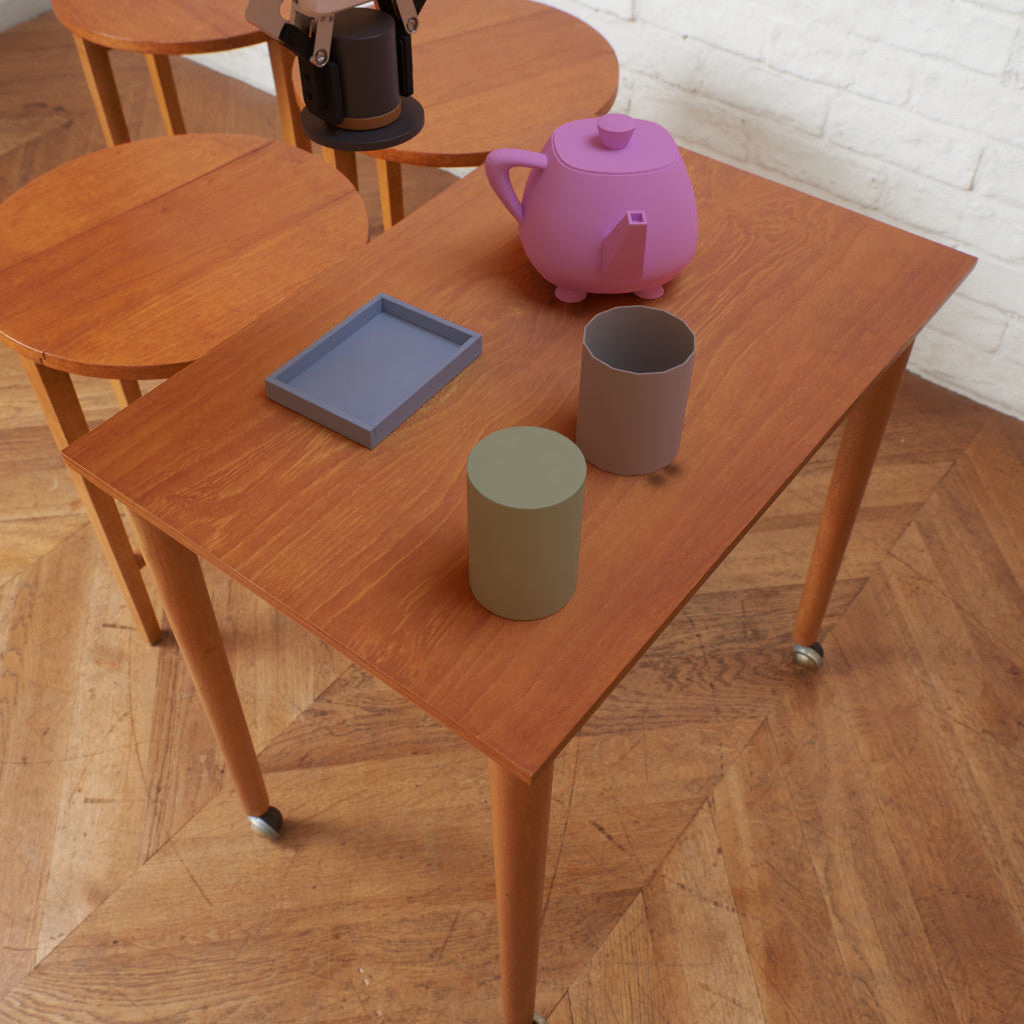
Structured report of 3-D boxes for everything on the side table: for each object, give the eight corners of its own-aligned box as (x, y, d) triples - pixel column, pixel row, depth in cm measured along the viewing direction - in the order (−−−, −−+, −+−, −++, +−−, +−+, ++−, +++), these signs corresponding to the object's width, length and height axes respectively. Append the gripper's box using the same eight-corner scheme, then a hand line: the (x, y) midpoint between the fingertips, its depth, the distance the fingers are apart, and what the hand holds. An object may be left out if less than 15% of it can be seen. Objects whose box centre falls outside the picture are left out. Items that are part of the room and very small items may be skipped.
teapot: (495, 351, 92) (496, 195, 81) (479, 229, 106) (477, 82, 95) (715, 340, 94) (744, 186, 83) (670, 222, 107) (690, 76, 97)
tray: (371, 450, 83) (369, 431, 82) (267, 397, 87) (263, 379, 86) (482, 353, 92) (482, 334, 90) (382, 310, 96) (380, 291, 95)
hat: (309, 158, 68) (295, 55, 63) (294, 101, 74) (280, 3, 69) (436, 144, 69) (431, 43, 65) (412, 89, 75) (406, -8, 70)
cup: (649, 490, 80) (665, 388, 73) (556, 451, 83) (562, 349, 76) (695, 428, 85) (714, 327, 78) (606, 393, 88) (616, 293, 81)
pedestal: (483, 630, 71) (482, 518, 63) (458, 549, 76) (454, 436, 68) (590, 608, 72) (602, 496, 64) (558, 530, 77) (566, 417, 69)
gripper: (405, -252, 64) (420, 50, 77) (157, -206, 55) (221, 125, 68) (490, -230, 60) (491, 83, 73) (239, -177, 51) (291, 167, 65)
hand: (360, 101), depth 70 cm, fingers closed on hat, 5 cm apart
